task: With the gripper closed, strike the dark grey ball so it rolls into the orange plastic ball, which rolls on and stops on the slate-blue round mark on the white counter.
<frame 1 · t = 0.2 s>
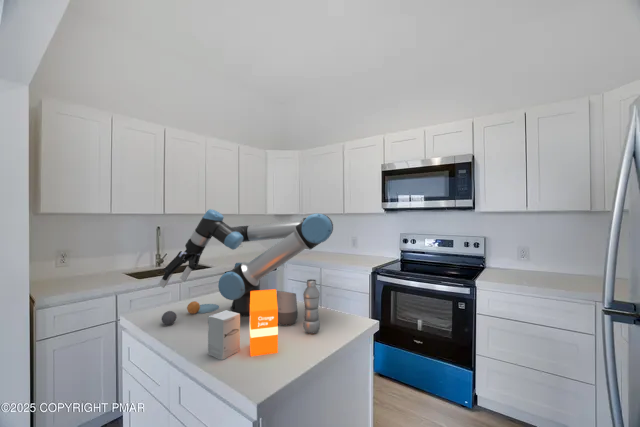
hand: (172, 282, 122), 16 cm above the counter, tool tilted 35°, fingers open, 13 cm apart
object ball: (193, 307, 130), on the counter
supplement box: (224, 353, 92), on the counter
orange juice: (263, 349, 94), on the counter
plastic bottle: (311, 332, 109), on the counter
smart speaker: (286, 323, 118), on the counter
dark grey ball: (169, 318, 116), on the counter
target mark: (204, 308, 136), on the counter
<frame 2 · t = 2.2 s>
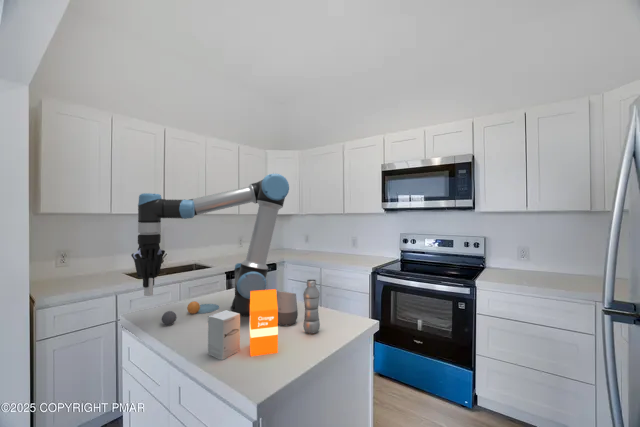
hand: (148, 295, 107), 15 cm above the counter, tool pointing down, fingers closed
nothing on the counter moved.
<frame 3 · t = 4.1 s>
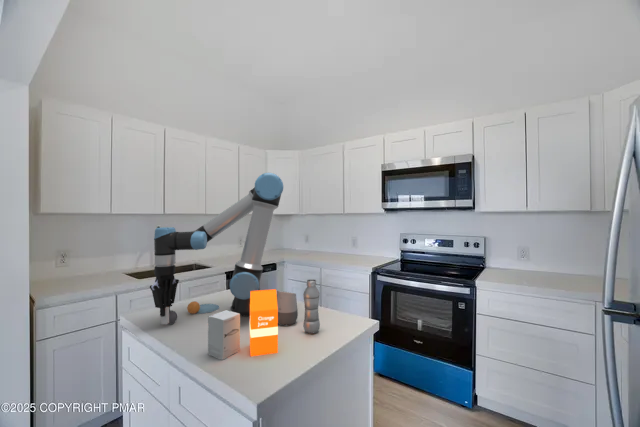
hand: (165, 323, 113), 2 cm above the counter, tool pointing down, fingers closed
dark grey ball: (170, 317, 117), on the counter, touching gripper
everything else where it was.
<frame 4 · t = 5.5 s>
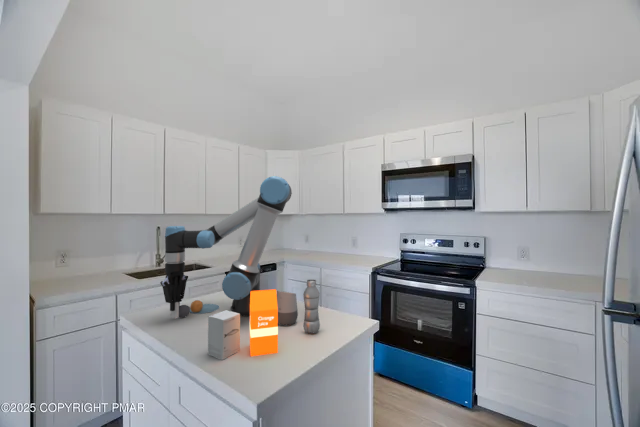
hand: (174, 317, 119), 2 cm above the counter, tool pointing down, fingers closed
object ball: (196, 306, 131), on the counter
dark grey ball: (183, 311, 125), on the counter
everything else where it was.
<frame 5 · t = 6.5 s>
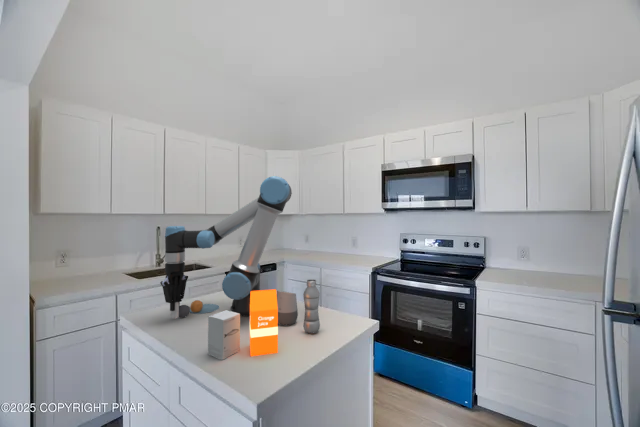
hand: (174, 317, 119), 2 cm above the counter, tool pointing down, fingers closed
nothing on the counter moved.
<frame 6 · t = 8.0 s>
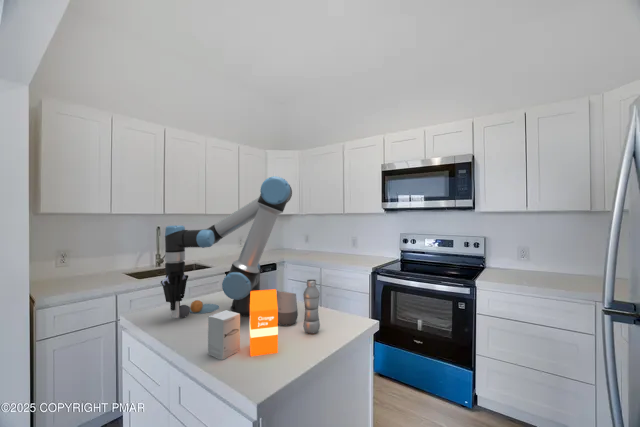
hand: (175, 316, 119), 2 cm above the counter, tool pointing down, fingers closed
nothing on the counter moved.
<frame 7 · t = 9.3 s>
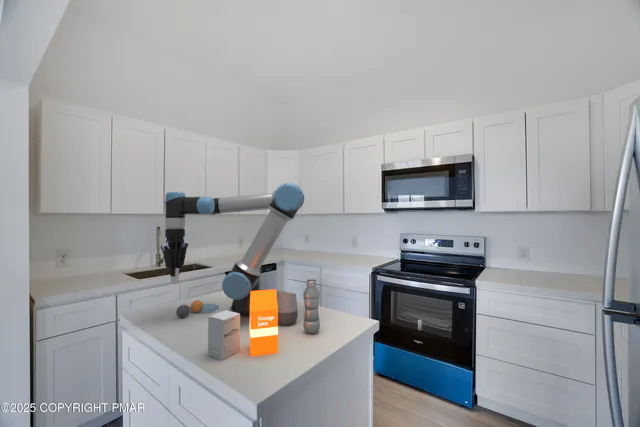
hand: (174, 283, 119), 16 cm above the counter, tool pointing down, fingers closed
nothing on the counter moved.
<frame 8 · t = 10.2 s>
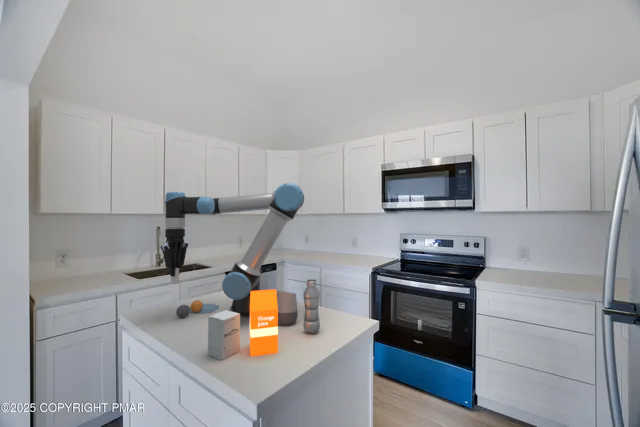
hand: (174, 283, 119), 16 cm above the counter, tool pointing down, fingers closed
nothing on the counter moved.
at the end: object ball 5.1 cm from the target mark (horizontally); object ball never touched the robot; dark grey ball first touched object ball at 4.6 s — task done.
